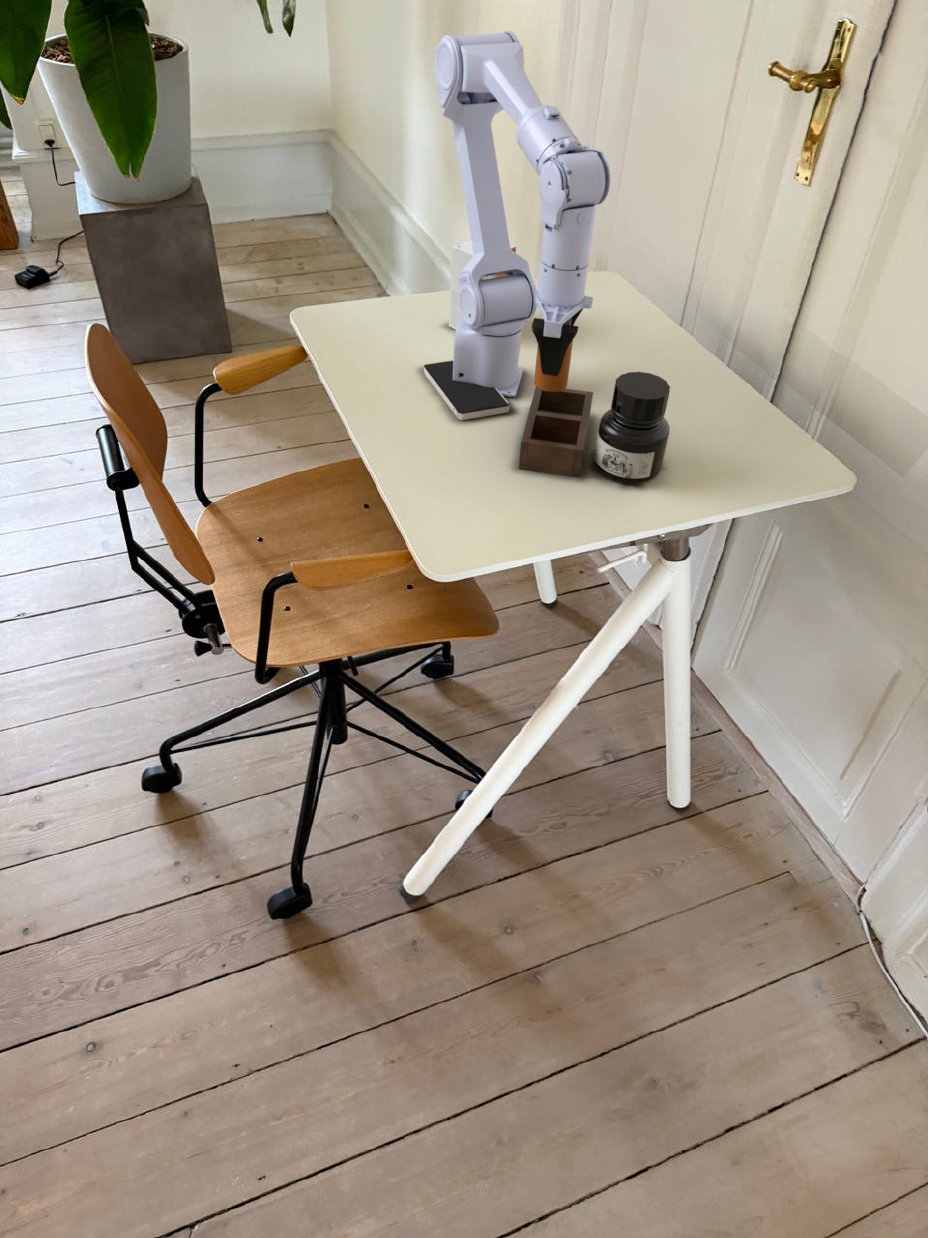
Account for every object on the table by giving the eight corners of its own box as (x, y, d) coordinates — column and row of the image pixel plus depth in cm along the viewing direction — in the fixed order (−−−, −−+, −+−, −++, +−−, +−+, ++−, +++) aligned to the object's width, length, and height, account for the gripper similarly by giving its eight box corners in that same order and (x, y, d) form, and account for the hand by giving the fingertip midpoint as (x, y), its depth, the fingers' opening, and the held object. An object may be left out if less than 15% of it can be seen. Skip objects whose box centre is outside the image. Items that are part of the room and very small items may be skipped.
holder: (518, 468, 121) (521, 441, 118) (533, 410, 132) (536, 384, 129) (579, 477, 120) (583, 450, 117) (589, 417, 131) (593, 391, 128)
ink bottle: (577, 466, 122) (589, 384, 114) (614, 439, 127) (628, 359, 119) (640, 496, 118) (657, 413, 110) (675, 467, 123) (695, 386, 115)
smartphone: (471, 357, 141) (512, 405, 130) (471, 364, 141) (511, 412, 131) (421, 364, 138) (458, 414, 128) (421, 372, 139) (458, 421, 129)
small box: (475, 340, 146) (479, 258, 137) (447, 326, 149) (450, 245, 141) (510, 325, 151) (517, 245, 142) (483, 312, 154) (487, 232, 145)
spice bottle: (531, 389, 121) (538, 320, 114) (536, 373, 124) (543, 305, 118) (565, 393, 120) (574, 324, 114) (568, 377, 124) (577, 309, 117)
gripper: (592, 289, 105) (577, 396, 115) (603, 242, 116) (588, 343, 125) (530, 282, 106) (521, 388, 115) (547, 235, 117) (536, 336, 126)
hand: (552, 364), depth 120 cm, fingers closed on spice bottle, 4 cm apart
